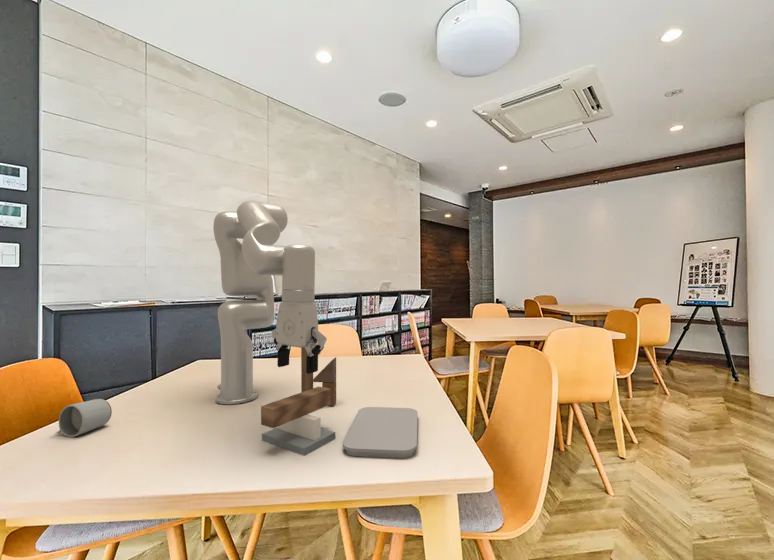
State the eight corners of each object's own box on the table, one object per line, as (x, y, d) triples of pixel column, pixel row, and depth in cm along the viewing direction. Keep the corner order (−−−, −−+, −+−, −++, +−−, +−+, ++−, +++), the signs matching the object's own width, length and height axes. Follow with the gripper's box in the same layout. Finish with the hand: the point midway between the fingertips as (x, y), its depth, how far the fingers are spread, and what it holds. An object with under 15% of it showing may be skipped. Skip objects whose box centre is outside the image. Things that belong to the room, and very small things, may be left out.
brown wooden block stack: (333, 406, 107) (333, 346, 108) (298, 405, 109) (298, 346, 109) (336, 402, 111) (336, 344, 111) (303, 401, 112) (303, 344, 113)
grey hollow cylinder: (114, 425, 94) (114, 396, 94) (82, 438, 86) (82, 406, 86) (81, 423, 96) (81, 394, 96) (47, 436, 88) (47, 404, 88)
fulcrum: (261, 440, 84) (261, 414, 84) (294, 426, 93) (294, 402, 93) (304, 455, 77) (304, 427, 77) (335, 438, 85) (335, 413, 85)
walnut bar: (273, 428, 76) (273, 409, 76) (261, 424, 78) (261, 406, 78) (330, 404, 91) (330, 388, 91) (318, 401, 93) (318, 386, 93)
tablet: (339, 458, 76) (339, 447, 76) (360, 414, 102) (360, 406, 102) (416, 462, 74) (416, 451, 74) (417, 416, 100) (417, 408, 100)
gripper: (261, 296, 87) (260, 366, 87) (313, 299, 77) (312, 378, 78) (285, 295, 93) (284, 360, 93) (336, 298, 84) (335, 371, 84)
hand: (297, 369), depth 85 cm, fingers open, 9 cm apart
